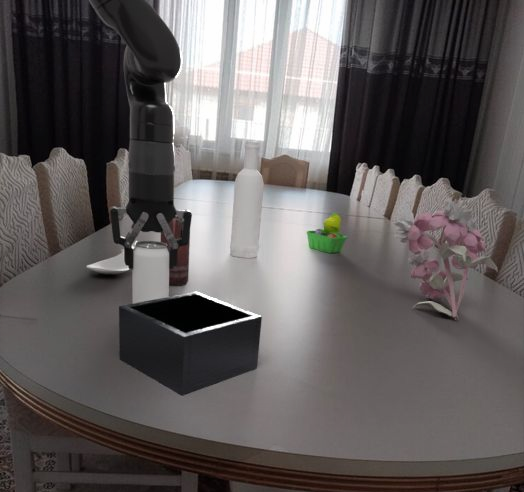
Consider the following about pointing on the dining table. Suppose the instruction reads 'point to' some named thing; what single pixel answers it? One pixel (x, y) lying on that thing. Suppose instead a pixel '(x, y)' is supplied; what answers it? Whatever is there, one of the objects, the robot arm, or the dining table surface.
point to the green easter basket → (327, 236)
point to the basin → (189, 340)
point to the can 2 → (181, 270)
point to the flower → (443, 251)
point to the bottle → (247, 205)
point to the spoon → (111, 264)
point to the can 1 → (150, 271)
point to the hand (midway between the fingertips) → (150, 267)
